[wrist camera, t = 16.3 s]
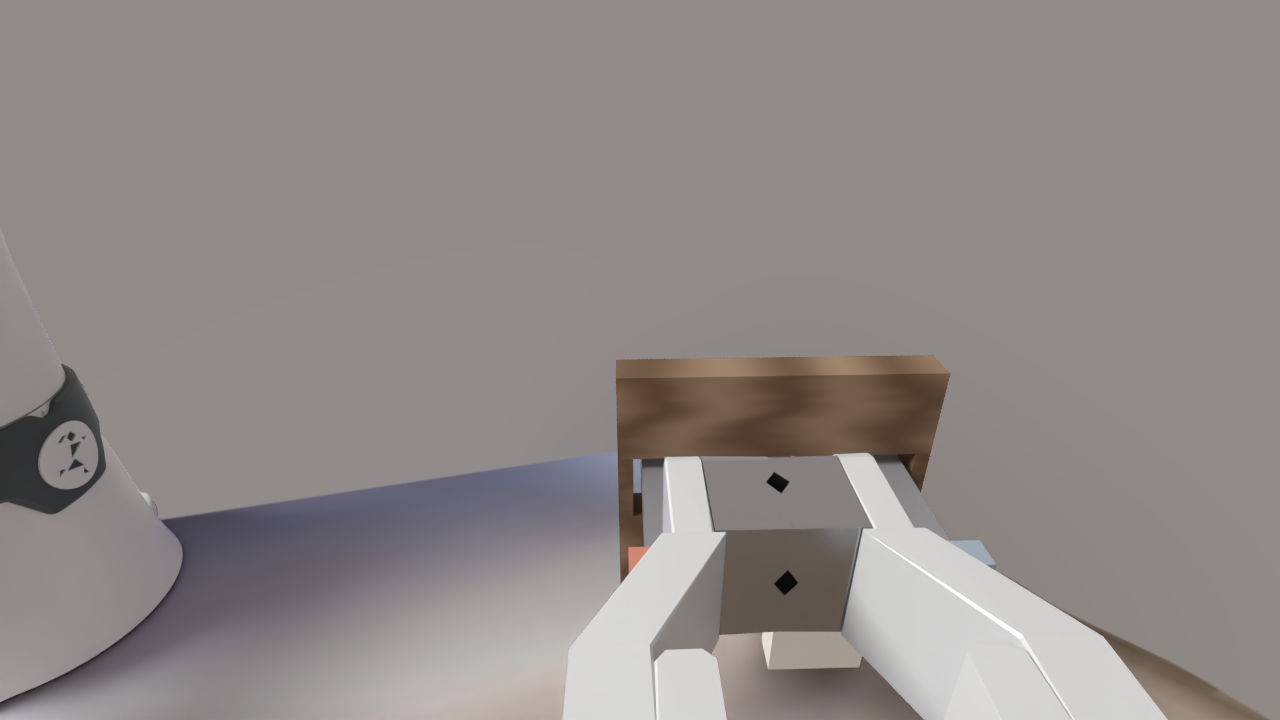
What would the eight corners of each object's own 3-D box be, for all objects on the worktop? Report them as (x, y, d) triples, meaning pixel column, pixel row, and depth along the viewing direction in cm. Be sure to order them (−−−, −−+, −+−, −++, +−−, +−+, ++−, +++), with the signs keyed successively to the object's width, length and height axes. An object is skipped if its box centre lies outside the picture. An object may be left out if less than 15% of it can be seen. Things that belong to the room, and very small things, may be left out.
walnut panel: (621, 603, 40) (616, 378, 33) (621, 579, 42) (616, 359, 35) (894, 597, 41) (950, 373, 33) (882, 573, 43) (933, 355, 35)
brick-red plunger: (629, 636, 30) (628, 572, 28) (627, 468, 41) (626, 414, 39) (716, 634, 30) (721, 570, 28) (691, 467, 41) (693, 413, 39)
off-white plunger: (768, 669, 28) (776, 604, 27) (727, 486, 40) (731, 430, 38) (859, 667, 29) (874, 602, 27) (793, 484, 40) (800, 429, 38)
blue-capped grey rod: (889, 630, 30) (905, 566, 28) (817, 465, 41) (825, 411, 39) (975, 628, 30) (996, 564, 28) (880, 464, 41) (891, 410, 40)
